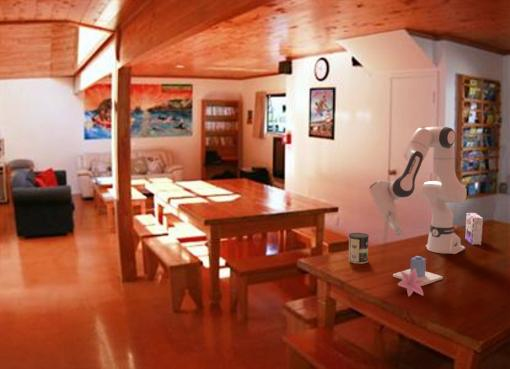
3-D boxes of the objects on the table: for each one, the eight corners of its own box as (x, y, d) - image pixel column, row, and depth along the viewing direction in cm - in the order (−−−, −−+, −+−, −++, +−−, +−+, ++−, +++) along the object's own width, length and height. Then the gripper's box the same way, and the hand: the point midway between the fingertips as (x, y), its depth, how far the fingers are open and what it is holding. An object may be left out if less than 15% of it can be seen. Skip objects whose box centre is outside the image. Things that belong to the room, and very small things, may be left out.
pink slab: (413, 270, 243) (414, 256, 242) (442, 278, 230) (443, 264, 229) (392, 276, 234) (393, 262, 233) (421, 286, 221) (421, 270, 220)
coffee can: (367, 258, 262) (368, 232, 260) (368, 264, 252) (369, 237, 250) (348, 257, 264) (348, 232, 262) (348, 263, 254) (348, 237, 252)
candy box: (464, 238, 301) (466, 212, 298) (474, 239, 300) (476, 212, 297) (471, 244, 287) (472, 217, 285) (481, 245, 286) (483, 217, 284)
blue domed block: (416, 272, 235) (417, 254, 234) (425, 275, 231) (425, 257, 230) (410, 274, 232) (411, 256, 231) (418, 277, 228) (419, 259, 227)
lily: (392, 296, 211) (401, 281, 206) (393, 278, 221) (401, 263, 215) (419, 306, 210) (428, 291, 205) (419, 287, 220) (427, 272, 214)
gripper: (396, 208, 235) (409, 234, 233) (392, 209, 255) (404, 233, 253) (384, 213, 235) (397, 239, 233) (381, 214, 256) (393, 238, 253)
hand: (401, 236), depth 243 cm, fingers open, 8 cm apart
